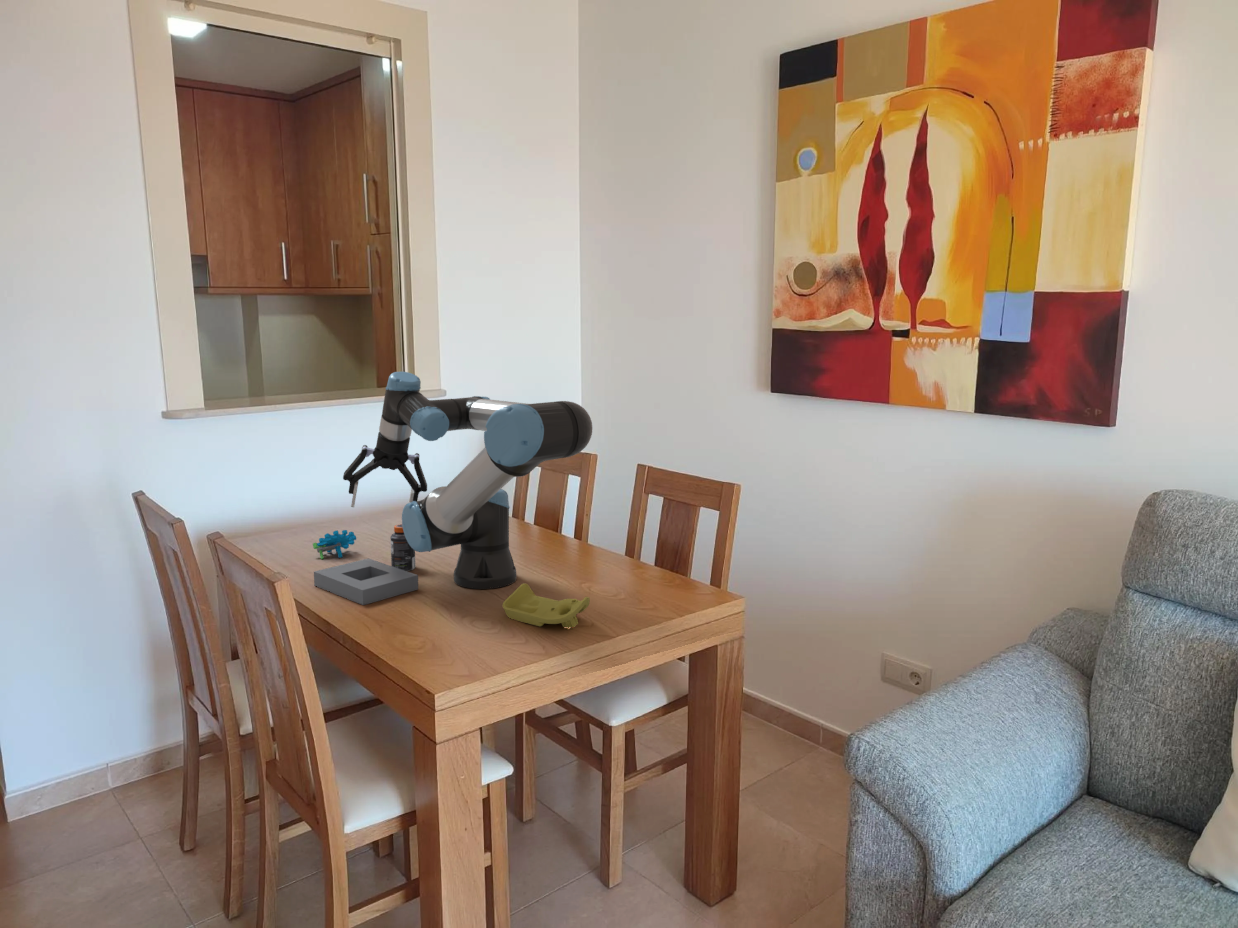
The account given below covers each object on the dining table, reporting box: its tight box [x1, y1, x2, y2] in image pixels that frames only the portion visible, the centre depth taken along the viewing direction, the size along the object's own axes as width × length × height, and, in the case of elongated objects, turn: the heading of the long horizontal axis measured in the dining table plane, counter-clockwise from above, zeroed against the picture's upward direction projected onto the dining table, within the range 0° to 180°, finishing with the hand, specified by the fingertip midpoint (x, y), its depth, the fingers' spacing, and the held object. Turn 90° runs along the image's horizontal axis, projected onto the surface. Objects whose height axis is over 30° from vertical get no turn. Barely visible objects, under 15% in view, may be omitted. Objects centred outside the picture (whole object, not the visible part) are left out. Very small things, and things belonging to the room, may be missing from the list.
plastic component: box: [502, 583, 591, 628], centre depth 185 cm, size 20×7×10 cm
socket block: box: [313, 558, 419, 606], centre depth 205 cm, size 20×15×4 cm
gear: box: [312, 529, 357, 560], centre depth 230 cm, size 11×6×10 cm
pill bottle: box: [390, 523, 416, 572], centre depth 219 cm, size 6×6×11 cm
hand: (380, 508), depth 218 cm, fingers open, 13 cm apart
